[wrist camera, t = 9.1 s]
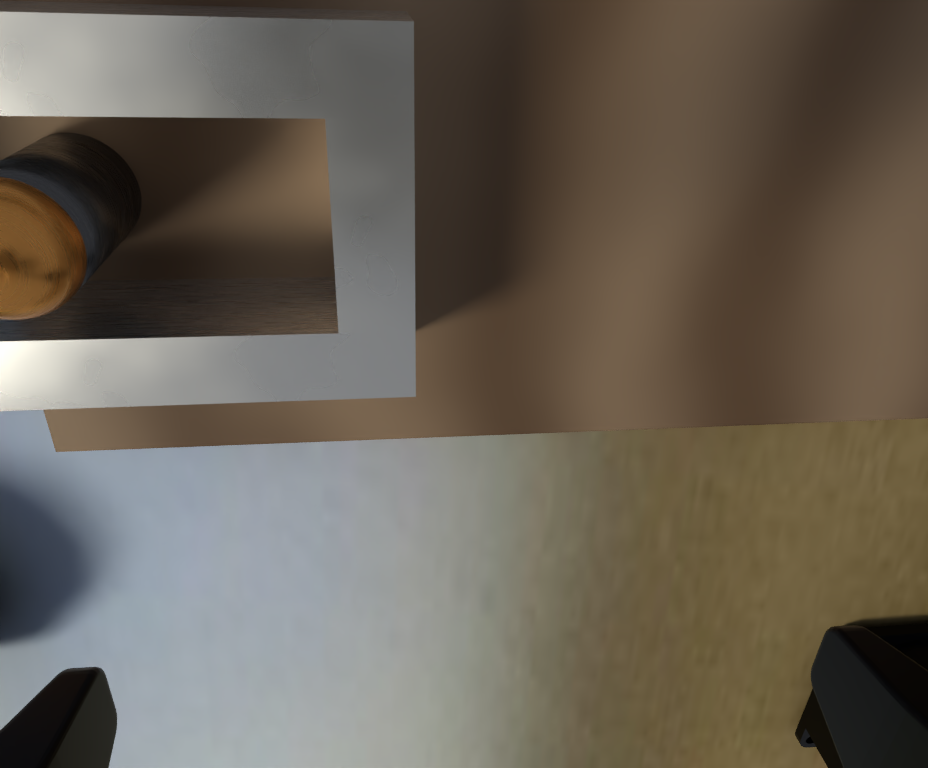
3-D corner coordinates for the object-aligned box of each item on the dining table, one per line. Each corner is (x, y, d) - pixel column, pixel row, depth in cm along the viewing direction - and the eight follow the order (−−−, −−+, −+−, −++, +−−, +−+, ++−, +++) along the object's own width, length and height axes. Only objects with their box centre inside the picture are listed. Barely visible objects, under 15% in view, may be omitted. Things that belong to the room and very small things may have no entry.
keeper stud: (129, 133, 15) (40, 196, 11) (150, 246, 16) (77, 342, 12) (3, 132, 15) (-137, 196, 10) (34, 247, 16) (-80, 346, 12)
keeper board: (1102, -126, 16) (1167, -133, 15) (904, 391, 22) (937, 417, 21) (-92, -192, 13) (-142, -209, 12) (76, 419, 20) (55, 452, 18)
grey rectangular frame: (405, 10, 14) (413, 21, 12) (408, 333, 18) (415, 396, 15) (-274, -7, 13) (-435, 0, 10) (-127, 347, 16) (-219, 418, 14)
